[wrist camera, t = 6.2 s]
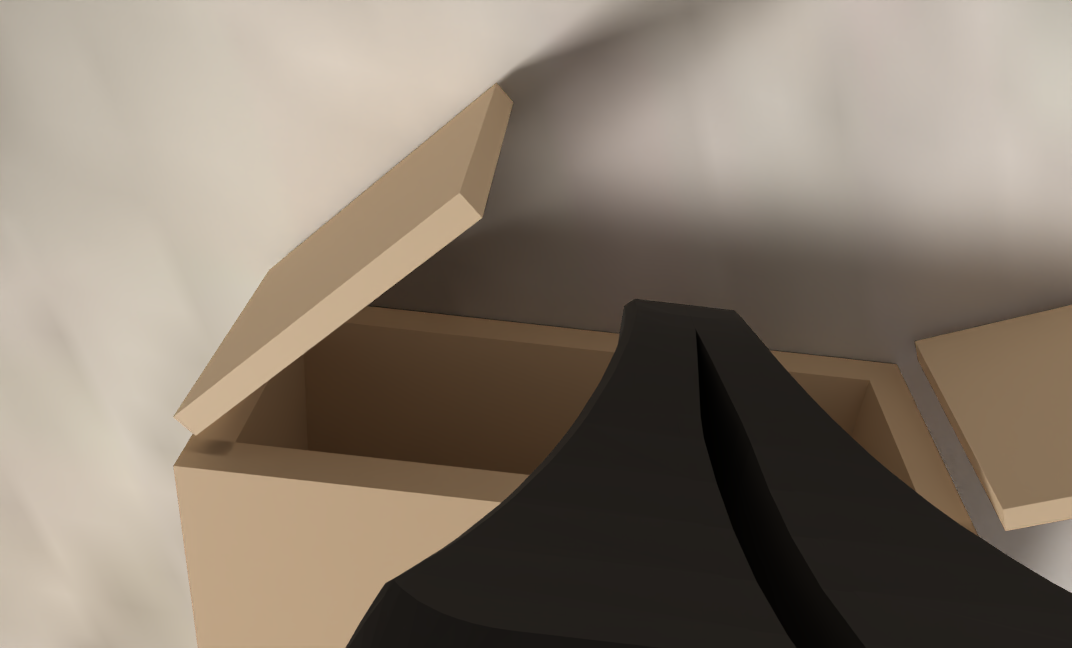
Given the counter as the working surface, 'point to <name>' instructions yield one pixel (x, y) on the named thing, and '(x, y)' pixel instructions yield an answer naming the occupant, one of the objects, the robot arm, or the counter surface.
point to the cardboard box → (427, 460)
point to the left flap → (356, 257)
